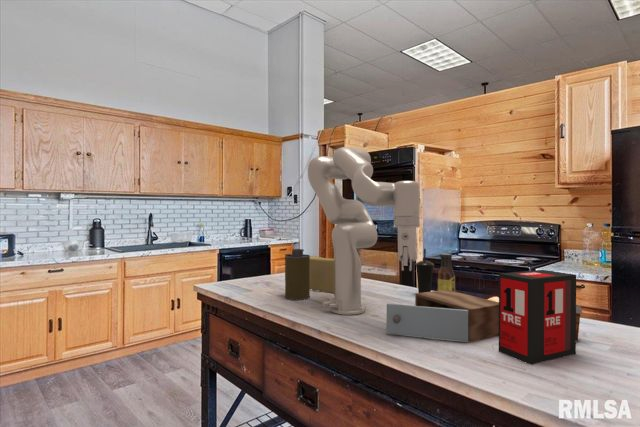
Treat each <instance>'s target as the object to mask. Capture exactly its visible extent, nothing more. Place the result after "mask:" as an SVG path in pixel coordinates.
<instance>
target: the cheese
mask: <svg viewBox="0 0 640 427" xmlns="http://www.w3.org/2000/svg"><path fill="white" fill-rule="evenodd" d="M334 271H335V267H334V258H327V257H326V258H325V257H320V256H317V255H316V256H315V255H310V281H309V289H312V290H311V291H315V290H319V291H318V292H322V291H325V292H324V293H328V292H331V293H330V294H334Z"/></svg>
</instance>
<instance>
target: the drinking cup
mask: <svg viewBox="0 0 640 427" xmlns="http://www.w3.org/2000/svg"><path fill="white" fill-rule="evenodd" d="M426 250H427V249H426V248H424V249H423V260H420V261H418V262H417V261H416V263H415V267H416V269H415V270H416V278H417V279H416V280H417V290H418V292H417V293H424V292H432V283H433V274H434V272H433V271H434V266H435V263H433V262H431V261H429V260H426V259H427V258H426V257H427V256H426V254H427V253H426V252H427V251H426Z"/></svg>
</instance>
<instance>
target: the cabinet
mask: <svg viewBox="0 0 640 427" xmlns="http://www.w3.org/2000/svg"><path fill="white" fill-rule="evenodd" d="M414 298H415V300H414V301H415V304H414V306H423V307H436V308H448V309H461V310H468V342H469V343H473V342H477V341H482V340H486V339H491V338H496V337H499V301H498V302H497V301H496V300H495V301H494V300H491V299H488V298H487V299H486V298H483V297H479V296H473V295H470V294H466V293H462V292H459V291H455V292H454V291H450V290H440V291H438V290H433V291H432V290H431V292H424V293H418V292H417V293H415V297H414ZM468 342H467V343H468Z"/></svg>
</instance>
